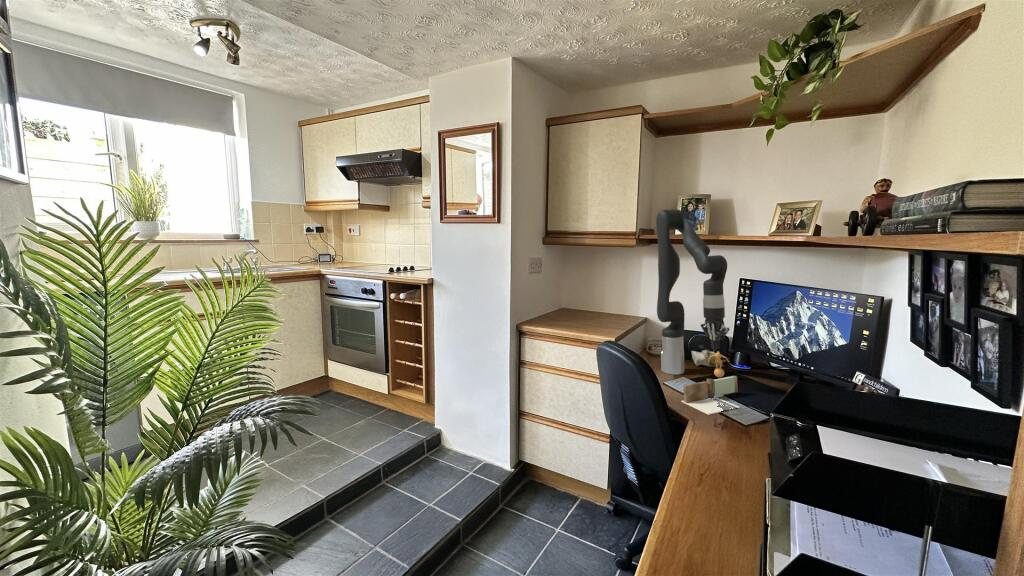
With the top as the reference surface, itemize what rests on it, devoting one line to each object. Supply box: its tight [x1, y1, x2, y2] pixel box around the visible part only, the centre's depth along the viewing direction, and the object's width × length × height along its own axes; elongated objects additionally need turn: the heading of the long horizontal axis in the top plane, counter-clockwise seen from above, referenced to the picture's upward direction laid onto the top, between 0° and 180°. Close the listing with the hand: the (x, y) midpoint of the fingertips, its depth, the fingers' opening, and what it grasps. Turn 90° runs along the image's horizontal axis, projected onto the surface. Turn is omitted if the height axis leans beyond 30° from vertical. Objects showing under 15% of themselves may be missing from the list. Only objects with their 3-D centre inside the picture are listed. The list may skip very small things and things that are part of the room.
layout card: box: [681, 398, 741, 416], centre depth 143 cm, size 14×14×1 cm
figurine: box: [708, 350, 730, 378], centre depth 170 cm, size 8×6×12 cm
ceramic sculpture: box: [691, 348, 727, 369], centre depth 188 cm, size 11×9×15 cm
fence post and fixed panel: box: [683, 378, 715, 403], centre depth 147 cm, size 13×2×7 cm, turn 106°
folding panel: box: [713, 375, 739, 397], centre depth 150 cm, size 11×2×6 cm, turn 106°
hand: (715, 348), depth 156 cm, fingers closed
